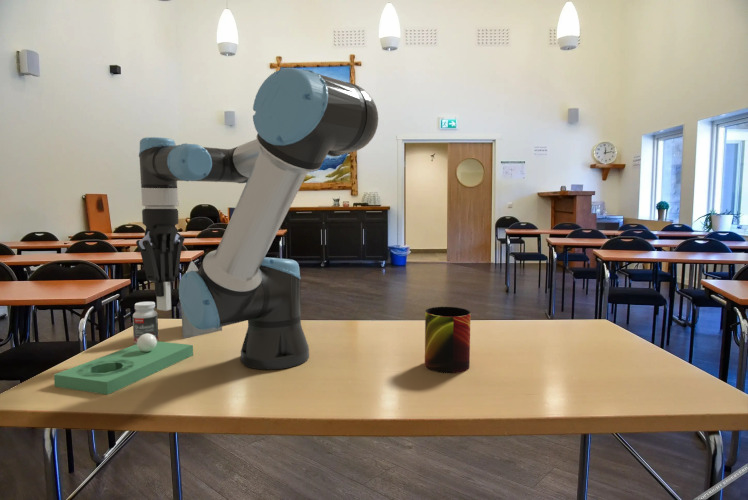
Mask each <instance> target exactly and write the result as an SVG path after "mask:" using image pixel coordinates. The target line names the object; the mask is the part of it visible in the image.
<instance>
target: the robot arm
mask: <svg viewBox="0 0 748 500" xmlns="http://www.w3.org/2000/svg"><path fill="white" fill-rule="evenodd" d="M252 110H253V111H254V112H255V113H254V114H253V115H252V121H253V125H254V129H255V131H256V132H257V135H256V138H255V139H252V140H249V141H248V142H244V143H243V144H241V145H238V146H236V147H233V148H217V147H206V146H202V145H199V144H195V143H181V144H178V145H176V141H175V140H174V139H172V138H167V137H155V136H153V137H152V136H151V137H150V136H149V137H143V138H141V139H140V141H139V153H138V158H139V172H140V187H141V191H140V192H141V206H142V207H145V208H143V209H142V210H141V217H142V219H141V220H142V224H143V225H144V226H145V231H144V237H143V238H142V239H137V240H136V241H135V243H136V246H137V247H138V250H139V251H140V255H141V260H142V264H143V269H144V273H145V276H146V280H147V281H148V282H151V283H153V284H154V295H155V297H156V309H157V310H156V311H166V312H167V311H170V310H172V293H173V291H172V290H173V289H172V286H173V285H172V282H175V281H176V278H177V277H178V276H179V272H180V271H179V270H180V263H181V253H182V247H183V244H184V242H185V236H183V235H181V236H180V235H179V234H178V232H177V228H176V225H178V224H179V210H178V208H176V207H177V206H179V197H178V195H179V193H178V181H179V182H208V183H209V182H211V183H213V182H214V183H235V184H236V183H237V184H245V185H244V188H243V190H242V192H241V195H240V196H239V199H238V202H237V203H236V206H235V208H234V210H233V212H232V215H231V217H230V219H229V222H228V224H227V225H226V229H225V230H224V233H223V236H222V237H221V239H220V242H219V244H218V247H217V248H216V249H215V250H211V251H209V252H208V253H207V254H206V255H205V256H204V257H203V260H202V263H201V265H200V266H199V269H198V271H190V272H187V271H186V272H187V273H186V272H185V273H184V274H183V275H181V278H180V280H179V285H178V297H179V301H180V306H182V309H183V312H184V314H185V316H186V318H187V319H188V321H189V322H190V323H191V324H192V325H193V326H194V327H195V328H197V329H201V330H207V329H213V328H214V329H217V328H219V327H222V328H223V327H226V326H230V325H234V324H238V323H243V322H246V321H247V329H246V333H245V337H244V339H243V343H242V346H241V349H240V362H241V364H242V365H243V366H246V367H248V368H251V369H254V370H255V369H256V370H282V369H286V368H287V369H288V368H293V367H295V366H299V365H301V364H304V363H305V362H307V361H308V360H309V358H310V348H309V344H308V341H307V337H306V335H305V332H304V329H303V327H302V319H301V318H302V317H301V314H302V313H301V311H302V310H301V279H302V277H301V273H300V271H301V270H300V266H299V265H300V264H299V262H297V261H296V260H294V259H291V258H279V257H266V255H267V254H268V251H269V250H270V248H271V246H272V244H273V241H274V239H276V236H277V234H278V233H279V230H280V229H281V226H282V224H283V222H284V220H285V218H286V216H287V215H288V212H289V210H290V208H291V206H292V204H293V203H294V200H295V198H296V197H297V194H298V193H299V190H300V189H301V186H302V184H303V183H304V180H305V179H306V177H307V174H308V173H311V172H316V171H318V170H320V168H321V167H322V165H323V164H324V162H325V159H326V157H327V156H329V157H332V158H334V157H339V156H343V155H345V154H350V153H353V152H356V151H359V150H361V149H363V148H364V147H366V146H367V145H368V144H369V143H370V142H371V141H372V139H373V138H374V137H375V134H376V132H377V129H378V127H379V125H378V124H379V112H378V108H377V105H376V103H375V101H374V99H373V97H372V96H371V95H370V93H369V92H367V91H366V90H365V89H364V88H362V87H361V86H360V85H357V84H355V83H352V82H347V81H344V80H340V79H336V78H333V77H330V76H326V75H324V74H319V73H317V72H315V71H313V70H309V69H300V68H295V67H294V68H293V67H284V68H282V69H279V70H276V71H275V72H273V73H271V74H270V75H268V77H267V78H266V79H264V81H263V82H262V83H261V84H260V86H259V88H258V90H257V92H256V95H255V98H254V102H253V105H252Z"/></svg>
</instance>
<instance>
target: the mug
mask: <svg viewBox="0 0 748 500" xmlns="http://www.w3.org/2000/svg"><path fill="white" fill-rule="evenodd" d="M424 314H425V315H424V316H425V317H424V320H425V321H424V323H425V325H424V367H425V368H426V369H428V370H430V371H432V372H434V373H439V374H440V373H441V374H449V375H450V374H461V373H465V372H466V371H467V372H468V371H469V370H470V363H471V362H470V361H471V360H470V357H471V355H470V353H471V311H470V310H468V309H466V308H462V307H458V306H457V307H456V306H433V307H429V308H427V309H425V313H424Z"/></svg>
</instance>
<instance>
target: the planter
mask: <svg viewBox="0 0 748 500" xmlns="http://www.w3.org/2000/svg"><path fill="white" fill-rule="evenodd" d="M198 270H199V269H198V267H197V266H196V264H195V262H194V261H192V260H191V261H190V262H189V265H188V267H187V270H186V272H185V273H187V272H190V271H198ZM180 306H181V305H180ZM180 308H181V330H182V331H181V332H182V339H188V338H193V337H198V336H203V335H209V334H213V333H216V332H220V331H222V330H223V327H219V328H217V329H214V328H213V329H207V330H201V329H197V328H195V327H194V326H193V325H192V324H191V323H190V322H189V321H188V319H187V318H186V316H185V314H184V312H183V309H182V306H181V307H180Z"/></svg>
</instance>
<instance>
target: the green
mask: <svg viewBox="0 0 748 500" xmlns="http://www.w3.org/2000/svg"><path fill="white" fill-rule="evenodd" d="M192 356H194V345H193V344H188V343H187V344H186V343H176V342H167V341H158V340H157V344H156V347H155V348H154V349H153V350H151V351H149V352H143V351H141V350H140V349H139V348H138V346H137V344H136V343H134V344H133V345H130V346H128V347H124V348H122V349H120V350H118V351H117V350H116V351H115V352H112V353H108V354H106V355H103V356H101V357H98V358H95V359H91V360H89V361H87V362H84V363H81V364H79V365H75V366H73V367H70V368H67V369H65V370H61V371H59V372H57V373H54V374H53V379H54V380H53V381H54V382H53V383H54V387H56V388H62V389H68V390H73V391H74V390H76V391H81V392H87V393H88V392H89V393H94V394H95V393H96V394H101V395H111V394H112V393H115V392H117V391H119V390H121V389H123V388H125V387H127V386H130V385H132V384H134V383H136V382H139V381H141V380H143V379H145V378H147V377H149V376H151V375H153V374H156V373H158V372H159V371H162V370H164V369H166V368H168V367H171V366H173V365H175V364H178V363H180V362H182V361H183V360H186V359H188V358H190V357H192Z"/></svg>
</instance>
